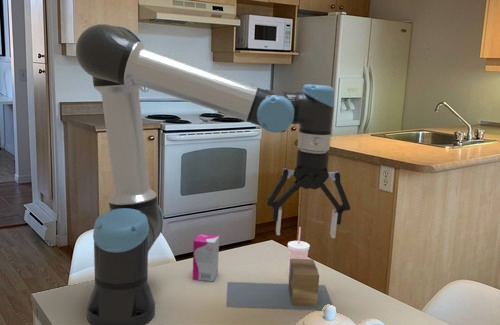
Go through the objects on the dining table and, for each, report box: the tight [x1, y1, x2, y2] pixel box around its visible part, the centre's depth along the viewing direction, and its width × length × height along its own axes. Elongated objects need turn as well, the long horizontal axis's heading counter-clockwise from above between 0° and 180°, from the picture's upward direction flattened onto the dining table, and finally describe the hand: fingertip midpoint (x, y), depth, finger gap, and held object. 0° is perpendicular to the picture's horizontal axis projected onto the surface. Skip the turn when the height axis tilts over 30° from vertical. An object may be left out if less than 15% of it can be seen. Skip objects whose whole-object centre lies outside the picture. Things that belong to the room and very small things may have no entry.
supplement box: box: [192, 233, 220, 283], centre depth 139 cm, size 6×6×12 cm
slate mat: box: [226, 281, 333, 311], centre depth 131 cm, size 26×14×1 cm, turn 92°
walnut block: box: [287, 258, 320, 306], centre depth 131 cm, size 10×6×8 cm, turn 2°
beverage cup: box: [287, 226, 311, 274], centre depth 144 cm, size 6×6×14 cm
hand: (305, 235), depth 128 cm, fingers open, 13 cm apart
